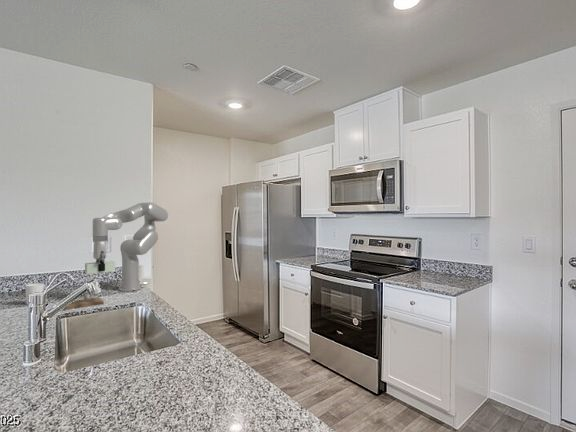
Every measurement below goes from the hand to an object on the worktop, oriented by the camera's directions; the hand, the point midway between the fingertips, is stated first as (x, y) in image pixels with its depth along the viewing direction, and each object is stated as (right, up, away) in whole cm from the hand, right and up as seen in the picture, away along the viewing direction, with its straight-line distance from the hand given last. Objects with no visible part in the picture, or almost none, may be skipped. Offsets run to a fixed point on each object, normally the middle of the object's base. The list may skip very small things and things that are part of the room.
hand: (100, 270), depth 182 cm
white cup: (-28, -16, -13) cm, 34 cm away
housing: (0, -1, 0) cm, 1 cm away
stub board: (-1, -15, -18) cm, 23 cm away
